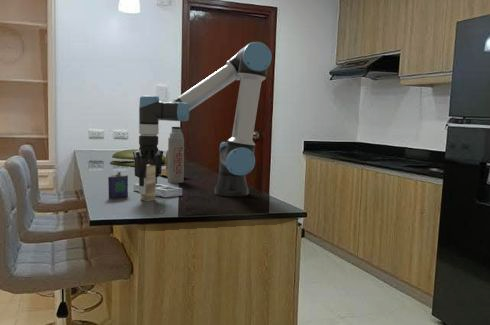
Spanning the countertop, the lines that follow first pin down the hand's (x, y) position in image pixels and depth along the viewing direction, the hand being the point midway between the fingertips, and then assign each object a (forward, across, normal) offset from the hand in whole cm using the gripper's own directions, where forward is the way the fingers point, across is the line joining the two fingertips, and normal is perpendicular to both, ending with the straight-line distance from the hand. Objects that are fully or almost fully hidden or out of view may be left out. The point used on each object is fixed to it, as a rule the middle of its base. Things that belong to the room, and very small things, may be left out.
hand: (147, 193), depth 186 cm
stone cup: (+3, -52, -46) cm, 69 cm away
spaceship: (+3, -74, -105) cm, 128 cm away
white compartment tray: (+3, -13, -10) cm, 17 cm away
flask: (+3, +6, -11) cm, 13 cm away
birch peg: (+3, 0, 0) cm, 3 cm away
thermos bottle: (+3, -41, -30) cm, 51 cm away
